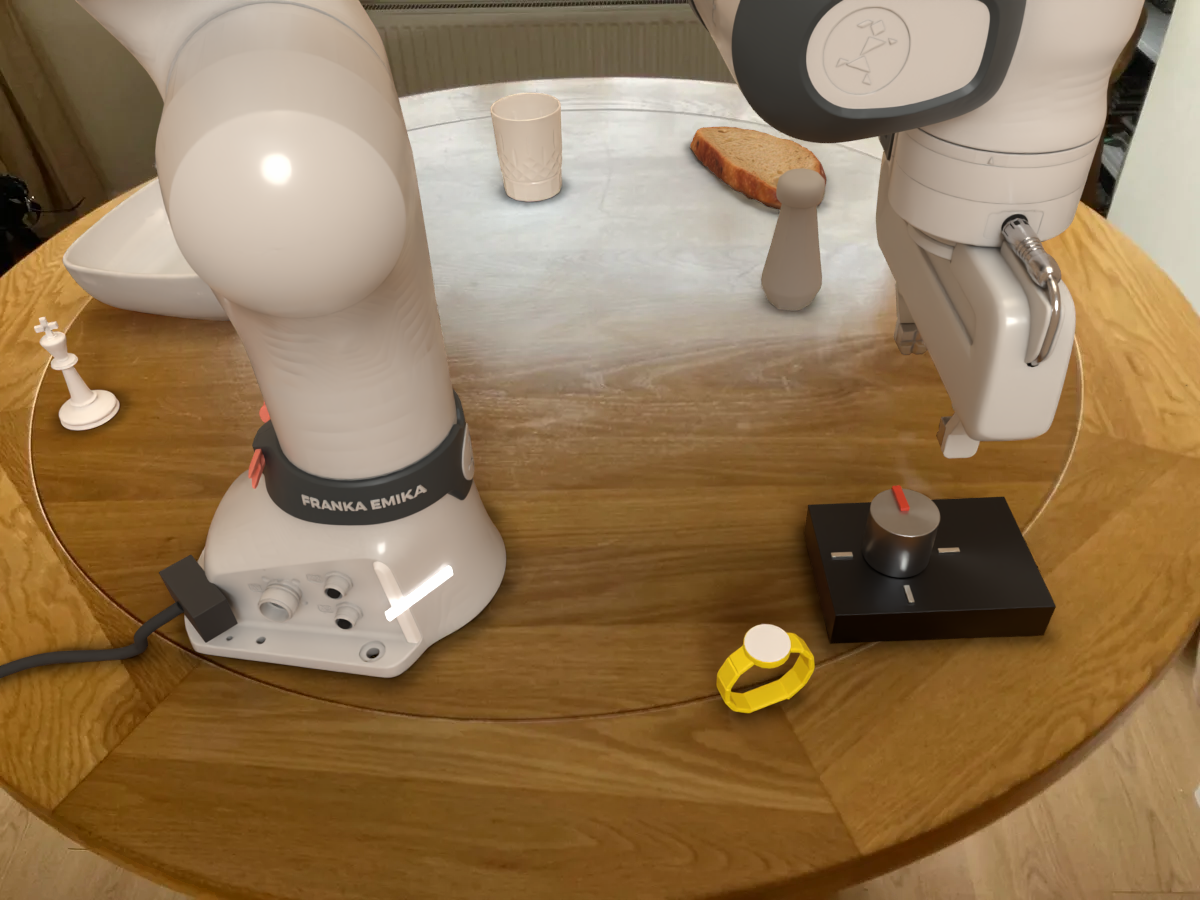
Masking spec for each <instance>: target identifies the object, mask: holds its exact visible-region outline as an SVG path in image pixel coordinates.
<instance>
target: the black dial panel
mask: <svg viewBox="0 0 1200 900" xmlns="http://www.w3.org/2000/svg"><path fill="white" fill-rule="evenodd" d="M931 500H932V501H933V502H934V503H935V505H936V506H937V508H938V510H939V512H940V523H939V526H938V530H937V534H936V537H935V541H934V544H933V548H932V552H931V555H930V559H929V562H928V565H927V566H926V568H925V569H924V570H923V571H922V572H920V573H919V574H917V575H914V576H911V577H905V578H899V577H891V576H888V575H885V574H882V573H880V572H878V571H877V570H875V569H874V568H872V567H871V566H870V565H869V564H868V563H867V561H866V560H865V558H864V556H863V553H862V544H863V539H864V534H865V529H866V524H867V519H868V514H869V510H870V505H871V502H872V501H864V502H861V501H860V502H840V503H837V502H836V503H815V504H814V503H812V504H808V505H807V509H806V516H805V523H804V531H803V535H804V538H805V540H804V541H805V545H806V548H807V552H808V556H809V560H810V564H811V569H812V574H813V577H814V582H815V586H816V590H817V594H818V598H819V602H820V606H821V607H820V608H821V611H822V615H823V619H824V623H825V628H826V632H827V636H828V640H829V644H832V645H833V644H852V643H853V644H854V643H855V644H856V643H857V644H858V643H880V642H881V643H882V642H908V641H932V640H935V641H936V640H958V639H959V640H960V639H984V638H986V639H987V638H1011V637H1034V636H1036V637H1037V636H1044V635H1045V633H1046V631H1047V628H1048V626H1049V624H1050V622H1051V620H1052V617H1053V614H1054V612H1055V610H1056V608H1057V606H1056V603H1055V601H1054V599H1053V597H1052V595H1051V593H1050V591H1049V588H1048V586H1047V584H1046V582H1045V580H1044V577H1043V576H1042V573H1041V572H1040V569H1039V567H1038V564H1037V563H1036V561H1035V559H1034V557H1033V555H1032V552H1031V550H1030V548H1029V546H1028V544H1027V541H1026V540H1025V538H1024V535H1023V533H1022V531H1021V528H1020V527H1019V525H1018V523H1017V520H1016V518H1015V516H1014V514H1013V512H1012V509H1011V508H1010V506H1009V504H1008V501H1007V499H1006V497H1005V496H983V497H980V496H979V497H961V498H960V497H958V498H935V499H933V498H931Z"/></svg>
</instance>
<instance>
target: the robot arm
mask: <svg viewBox="0 0 1200 900" xmlns="http://www.w3.org/2000/svg"><path fill="white" fill-rule="evenodd" d="M74 1H75V2H76V3H77V4H78V5H79V6H80V7H81V8H82V9H83V10H84V11H86V12H87V13H88V14H89V15H90V16H91V17H92V18H93V19H94V20H95V21H97V22H98V23H99V25H101V26H102V27H103V28H104V30H106V31H107V32H108V33H109V34H110V35H111V36H112V37H114V39H116V40H117V41H118V42H119V43H120V44H121V45H122V46H123V47H124V48H125V49H126V50H127V51H128V52H129V53H130V54H131V56H132V57H134V58H135V60H136V61H137V62H138V63H139V64H140V66H141V67H142V68H143V69H144V70H145V71H146V73H147V74H148V76H149V77H150V78H151V80H152V81H153V83H154V85H155V87H156V89H157V90H158V93H159V95H160V97H161V98H162V99H161V100H162V101H163V107H162V111H161V115H160V121H159V125H158V129H157V134H156V139H155V151H154V157H155V167H156V173H157V179H158V180H159V185H160V189H161V194H162V198H163V203H164V206H165V210H166V213H167V217H168V220H169V223H170V226H171V229H172V232H173V234H174V237H175V240H176V243H177V245H178V247H179V249H180V251H181V253H182V255H183V256H184V258H185V259H186V261H187V263H188V264H189V265H190V267H191V268H192V269H193V270H194V272H195V273H196V274H197V275H198V276H199V277H200V278H201V279H202V280H203V281H204V282H205V283H206V284H207V285H208V286H209V287H210V288H211V290H212V292H213V293H214V295H215V297H216V298H217V300H218V302H219V303H220V305H221V307H222V308H223V310H224V311H225V313H226V315H227V316H228V318H229V320H230V321H229V322H230V323H231V325H232V326H233V328H234V330H235V332H236V334H237V336H238V337H239V339H240V341H241V344H242V346H243V348H244V350H245V353H246V355H247V358H248V360H249V362H250V365H251V369H252V372H253V373H254V377H255V379H256V382H257V385H258V387H259V390H260V393H261V396H262V399H263V404H262V406H261V407H260V409H259V411H258V416H259V418H260V420H261V421H262V422H263V423H264V424H262V425H261V426H260V427H259V428H258V429H257V430H256V433H255V436H254V437H253V441H252V445H251V446H252V449H253V454H252V455H253V456H252V457H251V460H250V463H249V466H248V469H246V470H245V471H243V472H242V473H240V475H239V476H237V477H236V479H234V480H233V482H232V483H231V485H229V487H228V488H227V490H226V492H225V494H224V495H223V496H222V498H221V500H220V502H219V503H218V506H217V508H216V510H215V512H214V515H213V517H212V519H211V522H210V525H209V528H208V531H207V536H206V540H205V544H204V545H205V546H204V548H203V549H202V551H201V554H200V556H199V558H198V560H196V558H195V557H194V556H193V554H189V555H187V556H185V557H183V558H182V559H180V560H178V561H176V562H174V563H172V564H171V565H169V566H167V567H165V568H163V569H162V570H160V571H158V574H159V576H160V578H161V580H162V582H163V584H164V585H165V586H164V587H166V589H167V591H168V593H169V595H170V597H171V598H172V600H173V603H172V604H171V605H169V606H167V607H166V608H164V609H162V610H161V611H160V612H158V613H157V614H155V615H153V616H152V617H150V618H149V619H147V620H146V621H145V622H144V623H142V625H140V626H139V627H138V629H137V630H136V631H135V633H134V635H133V643H131V644H129V645H126V646H123V647H116V648H107V649H106V648H105V649H71V650H57V651H47V652H42V653H37V654H33V655H28V656H24V657H21V658H18V659H15V660H11V661H10V662H7V663H4V664H1V665H0V680H1V679H4V678H5V677H8V676H12V675H14V674H16V673H20V672H22V671H27V670H30V669H34V668H37V667H42V666H48V665H58V664H72V663H76V664H77V663H89V662H91V663H93V662H104V661H105V662H106V661H122V660H125V659H129V658H133V657H136V656H138V655H141V654H143V653H144V652H145V651H147V649H148V647H149V640H148V639H149V637H150V636H151V635H153V633H154V632H156V631H157V630H158V629H160V628H161V627H163V626H164V625H166V624H167V623H170V621H172V620H174V619H175V618H177V617H178V616H180V615H181V614H184V625H185V631H186V633H187V636H188V639H189V642H190V645H191V647H192V649H193V651H195V652H196V653H199V654H203V655H208V656H216V657H223V658H231V659H239V660H246V661H254V662H261V663H267V664H268V663H269V664H277V665H284V666H291V667H299V668H307V669H314V670H322V671H329V672H338V673H344V674H353V675H358V676H359V675H361V676H367V677H368V676H369V677H375V678H383V679H391V678H396V677H398V676H400V675H402V674H403V673H405V672H406V671H407V670H408V669H410V668H411V667H412V666H413V665H414V664H415V662H417V660H419V658H420V657H421V656H422V655H423V654H424V653H425V652H426V651H427V649H428V648H430V647H431V646H432V645H433V644H435V643H437V642H439V640H442V639H444V638H446V637H448V636H450V635H451V634H453V633H454V632H455V633H456V631H458V630H460V629H461V628H463V627H464V626H466V625H467V624H469V623H470V622H471V621H473V620H474V619H475V618H476V617H477V616H478V615H479V614H481V613H482V612H483V611H484V609H485V608H486V607H487V606H488V605H489V604H490V602H491V601H492V600H493V598H494V597H495V595H496V594H497V592H498V590H499V588H500V586H501V584H502V581H503V579H504V576H505V572H506V566H507V551H506V544H505V542H504V540H503V537H502V535H501V533H500V531H499V529H498V528H497V527H496V525H495V524H494V522H493V520H492V519H491V517H490V516H489V514H488V512H487V510H486V508H485V506H484V503H483V501H482V499H481V496H480V493H479V491H478V488H477V485H476V483H475V480H474V476H475V457H474V450H473V443H472V439H471V438H472V437H471V432H470V426H469V423H467V421H466V416H465V412H464V408H463V404H462V400H461V398H460V396H459V394H458V393H457V391H456V390H455V389H454V388H453V384H452V379H451V372H450V367H449V361H448V357H447V351H446V346H445V340H444V335H443V330H442V323H441V319H440V314H439V308H438V307H439V306H438V302H437V297H436V296H437V295H436V290H435V289H436V288H435V282H434V281H435V280H434V276H433V268H432V262H431V256H430V249H429V244H428V236H427V230H426V224H425V219H424V211H423V204H422V200H421V194H420V193H421V192H420V187H419V181H418V176H417V169H416V164H415V158H414V152H413V148H412V147H413V146H412V145H411V140H410V137H409V133H408V129H407V125H406V121H405V117H404V114H403V110H402V106H401V102H400V98H399V94H398V92H397V89H396V85H395V81H394V76H393V74H392V70H391V66H390V62H389V59H388V54H387V52H386V48H385V45H384V42H383V40H382V38H381V35H380V33H379V31H378V29H377V27H376V26H375V24H374V22H373V21H372V20H371V18H370V15H368V13H367V11H366V9H365V8H364V6H363V5H362V3H361V1H360V0H74ZM686 1H687V3H688V6H689V7H690V9H691V10H692V13H693V14H694V15H695V16H696V18H697V19H698V21H699V22H700V23H701V25H702V26H703V27H704V28H705V30H706V31H707V32H708V34H709V36H710V37H711V38H712V41H713V42H714V44H715V46H716V48H717V51H718V52H719V54H720V56H721V58H722V60H723V61H724V63H725V65H726V67H727V70H728V71H729V73H730V75H731V77H732V78H733V81H734V82H735V84H736V85H737V87H738V89H739V91H740V93H741V94H742V96H743V97H744V98H745V101H746V102H747V103H748V105H749V106H750V107H751V109H752V110H753V111H754V112H755V114H756V115H757V116H758V117H759V118H760V119H762V120H763V121H764V122H765V123H766V124H767V125H768V126H770V127H771V128H773V129H774V130H776V131H778V132H780V134H784V135H785V136H788V137H791V138H793V139H796V140H799V141H802V142H808V143H814V144H815V143H816V144H840V143H846V142H847V143H848V142H855V141H860V140H861V141H862V140H866V139H871V138H877V137H878V141H879V143H880V145H881V147H882V150H883V152H882V155H881V162H880V171H879V178H878V188H877V197H876V206H875V207H876V209H875V230H876V232H875V233H876V239H877V245H878V247H879V249H880V251H881V253H882V256H883V257H884V259H885V261H886V264H887V266H888V268H889V270H890V272H891V274H892V276H893V279H894V281H895V284H894V286H895V287H894V288H895V289H894V290H895V308H896V322H895V327H894V333H893V340H894V342H895V344H896V347H897V349H898V351H899V352H900V354H901V355H903V356H910V355H912V354H913V355H917V356H918V355H923V354H925V353H926V352H928V354H929V357H930V358H931V361H932V363H933V365H934V367H935V369H936V372H937V374H938V376H939V377H940V380H941V383H942V384H943V386H944V389H945V390H946V393H947V395H948V397H949V399H950V401H951V407H952V410H953V411H954V413H953V414H952V415H950V416H949V415H948V416H947V415H946V416H941V417H940V420H939V423H938V431H936V436H935V437H936V439H937V442H938V445H939V447H940V450H941V453H942V454H943V457H944V458H946V459H968V458H971V457H973V456H975V455H976V454H977V452H978V448H979V446H980V443H981V442H1014V441H1027V440H1033V439H1036V438H1038V437H1040V436H1042V435H1044V434H1046V433H1047V432H1048V431H1049V429H1050V428H1051V426H1052V424H1053V421H1054V419H1055V415H1056V413H1057V409H1058V406H1059V402H1060V399H1061V396H1062V391H1063V388H1064V384H1065V380H1066V376H1067V374H1068V373H1067V372H1068V368H1069V364H1070V360H1071V356H1072V351H1073V346H1074V342H1075V336H1076V335H1075V334H1076V327H1077V325H1076V323H1077V311H1076V306H1075V301H1074V298H1073V296H1072V293H1071V291H1070V289H1069V288H1068V286H1067V285H1066V283H1065V282H1064V280H1063V279H1062V271H1061V268H1060V266H1059V263H1058V262H1057V260H1056V259H1055V258H1054V257H1053V256H1052V255H1051V254H1050V253H1047V251H1046V250H1045V248H1044V246H1043V243H1044V242H1046V241H1047V242H1048V241H1050V240H1052V239H1053V238H1056V237H1058V236H1060V235H1061V234H1062V233H1064V232H1065V231H1067V229H1069V227H1070V226H1071V225H1072V224H1073V222H1074V220H1075V216H1076V213H1077V211H1078V207H1079V204H1080V201H1081V199H1082V195H1083V193H1084V189H1085V185H1086V182H1087V180H1088V176H1089V173H1090V169H1091V167H1092V163H1093V161H1094V158H1095V154H1096V151H1097V148H1098V145H1099V142H1100V139H1101V136H1102V134H1103V130H1104V128H1105V123H1106V119H1107V113H1108V87H1109V81H1110V77H1111V74H1112V71H1113V68H1114V66H1115V64H1116V62H1117V60H1118V59H1119V56H1120V54H1121V53H1122V52H1123V50H1124V48H1125V47H1126V46H1127V44H1128V43H1129V42H1130V40H1131V38H1132V36H1133V35H1134V33H1135V31H1136V28H1137V25H1138V23H1139V19H1140V18H1141V14H1142V10H1143V7H1144V4H1145V2H1146V0H686ZM374 655H375V656H376V657H374V658H372V656H374Z"/></svg>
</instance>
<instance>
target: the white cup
mask: <svg viewBox="0 0 1200 900" xmlns="http://www.w3.org/2000/svg"><path fill="white" fill-rule="evenodd" d="M489 109H490V116H491V122H492V126H493V127H492V129H493V134H494V142H495V147H496V152H497V153H496V154H497V159H498V163H499V167H500V168H499V169H500V172H501V175H502V181H503V182H502V183H503V188H504V191H505V194H506V195H507V196H508V197H509V198H512V199H513V200H515V201H520V202H526V203H529V202H531V203H532V202H540V201H545V200H548V199H551V198H553V197H554V196H556V195H558V194H559V193H560V191H561V189H562V187H563V177H562V175H563V174H562V165H563V155H562V153H563V136H562V130H563V129H562V102H561V101H560V99H558V98H557V97H555V96H553V95H551V94H548V93H544V92H543V93H542V92H518V93H514V94H509V95H506V96H503V97H501V98H498V99H497V100H496V101H494V102H493V103H492V104H491V105H490V108H489Z"/></svg>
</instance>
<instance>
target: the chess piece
mask: <svg viewBox="0 0 1200 900" xmlns="http://www.w3.org/2000/svg"><path fill="white" fill-rule="evenodd" d="M38 321H39V324H37V325H34V326H33V329H34V332H35V333H36V334H38V333H42V332H43V333H45V334H44V335H43V336H41V338H40V339H39V345H40V346H41V347H42V348H43V349H44V350H46V352H48V353H49V354H50V356H52V357H53V358H52V360H51V361H50V367H51V369H52V370H55V371H61V372H62V375H63V377H64V381H65V384H66V386H67V389H68V392H69V395H70V398H69V399H68V400H66V401H65V402H64V403H63V404H62V405H61V407H60V408H59V410H58V418H59V421H60V424H61V425H62V426H63V427H64V428H65V429H67V430H70V431H86V430H87V431H88V430H91V429H94V428H97V427H100V426H102V425H104V424H105V423H107V422H108V421H110V420H112V419H113V418H114V417H115V416H116V415H117V413H118V412H119V410H120V401H119V400H118V398H117V397H116V396H115V394H114V393H113V392H111V391H108V390H105V389H90V388H89V386H88V385H87V384H86V382H85V381H84V379H83V378H82V377H81V375H80V373H79V372H78V371H77V369H76V367H75V365H76V364H78V361H79V357H78V356H77V355H76V354H75V353H72V352H68V344H67V342H68V341H67V335H66V334H65V333H64V332H62V331H53V330H57V329H59V324H58V322H57V320H55V321H51V322H48V320H47V318H46V316H42V317H39V318H38Z"/></svg>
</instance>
